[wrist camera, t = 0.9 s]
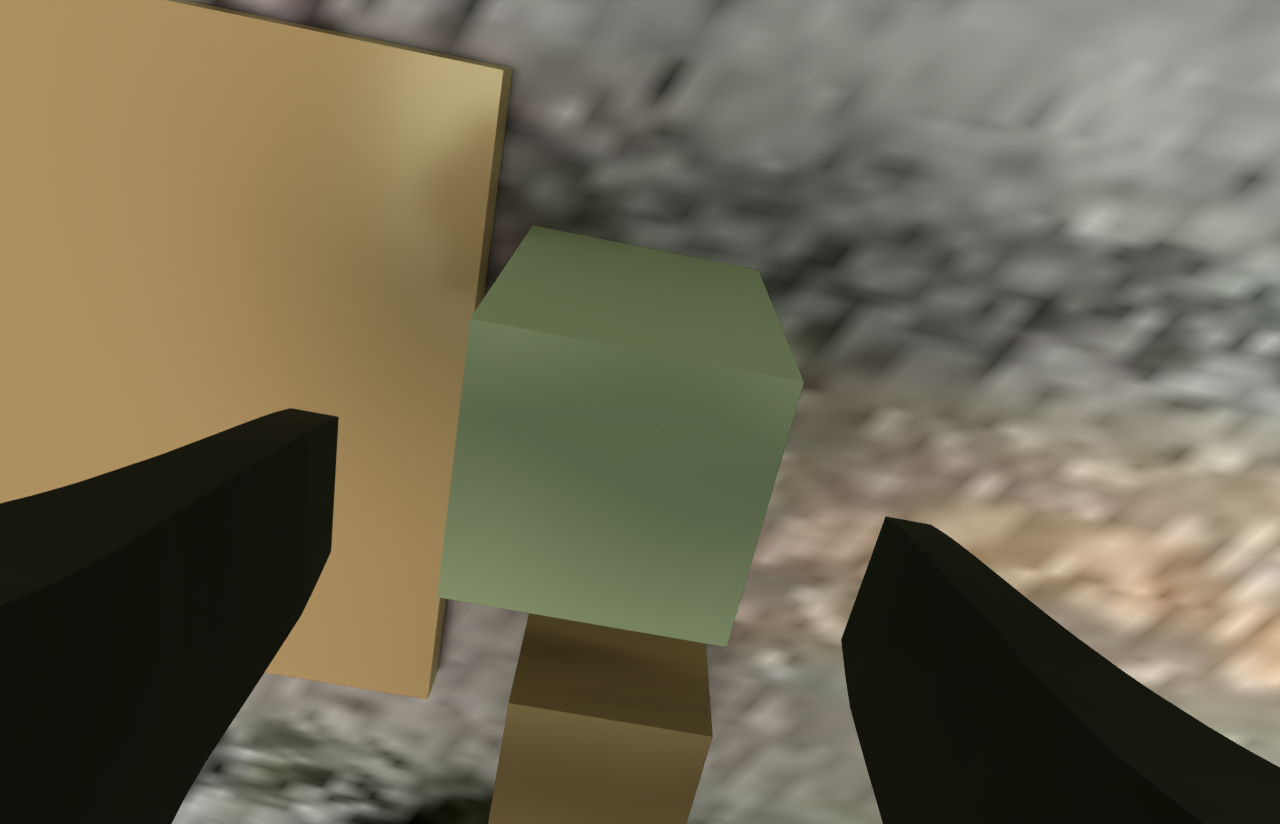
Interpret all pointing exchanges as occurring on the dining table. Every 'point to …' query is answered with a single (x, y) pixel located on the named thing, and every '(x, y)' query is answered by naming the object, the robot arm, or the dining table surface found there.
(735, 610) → the sage block
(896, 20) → the dining table surface
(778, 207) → the dining table surface
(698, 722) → the walnut block
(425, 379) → the tan flat square slab
